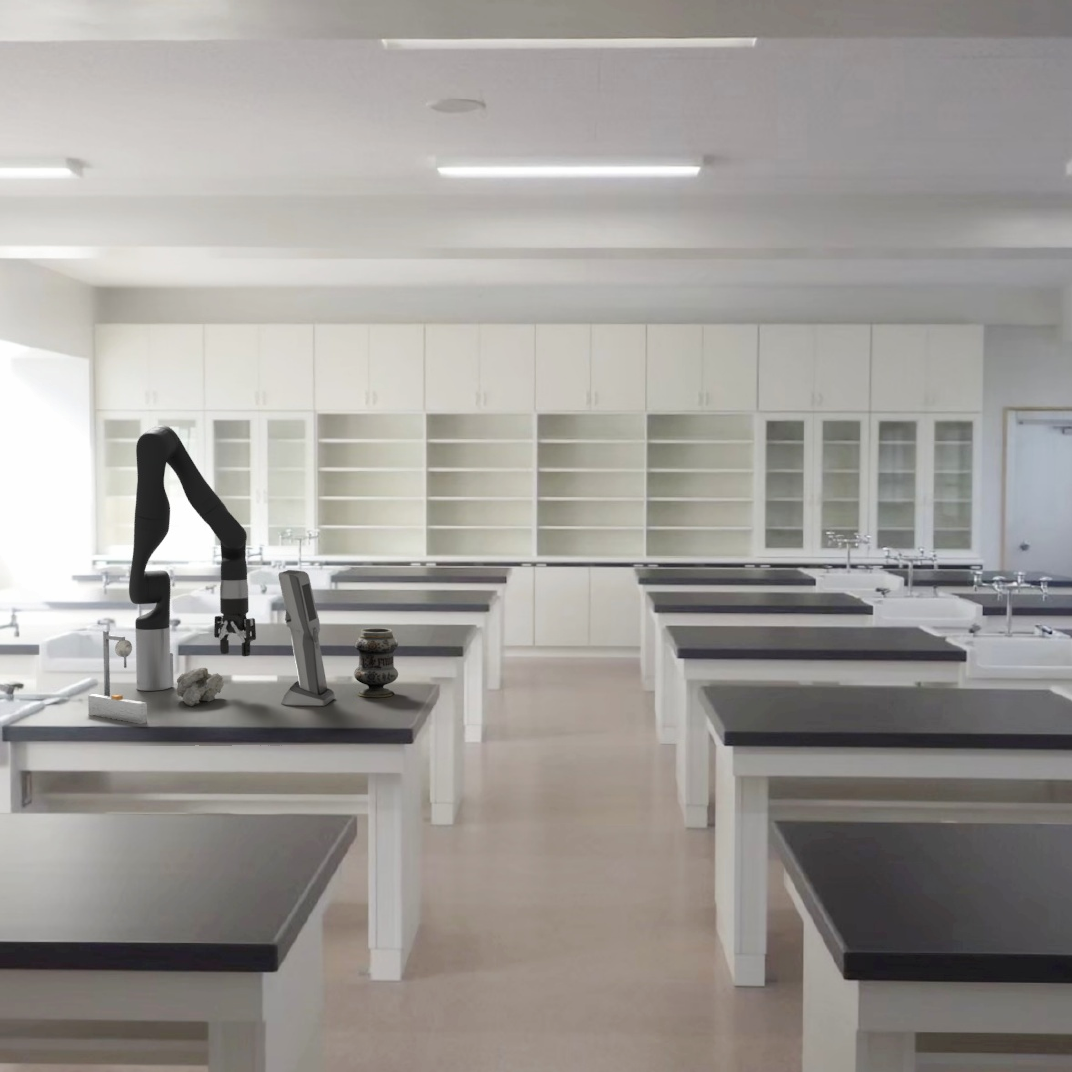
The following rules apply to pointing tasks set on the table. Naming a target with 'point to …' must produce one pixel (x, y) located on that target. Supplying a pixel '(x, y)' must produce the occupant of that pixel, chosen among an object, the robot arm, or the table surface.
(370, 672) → the apothecary jar
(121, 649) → the dial indicator stand
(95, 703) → the rail
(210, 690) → the mineral
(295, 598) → the thermal camera
